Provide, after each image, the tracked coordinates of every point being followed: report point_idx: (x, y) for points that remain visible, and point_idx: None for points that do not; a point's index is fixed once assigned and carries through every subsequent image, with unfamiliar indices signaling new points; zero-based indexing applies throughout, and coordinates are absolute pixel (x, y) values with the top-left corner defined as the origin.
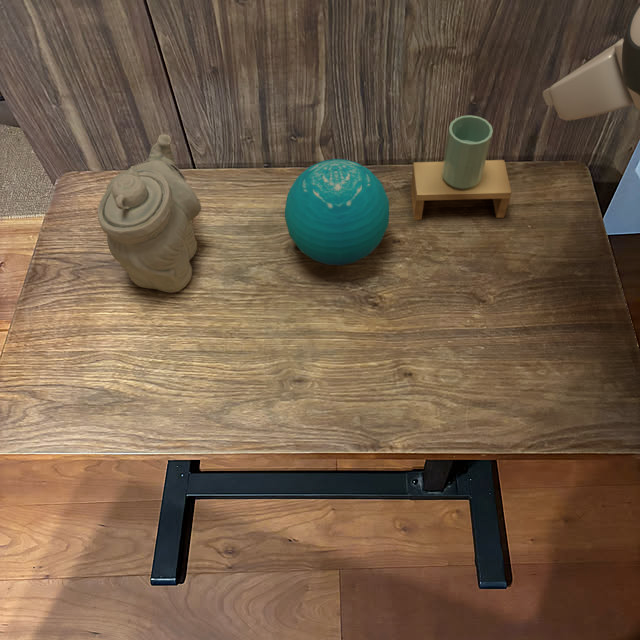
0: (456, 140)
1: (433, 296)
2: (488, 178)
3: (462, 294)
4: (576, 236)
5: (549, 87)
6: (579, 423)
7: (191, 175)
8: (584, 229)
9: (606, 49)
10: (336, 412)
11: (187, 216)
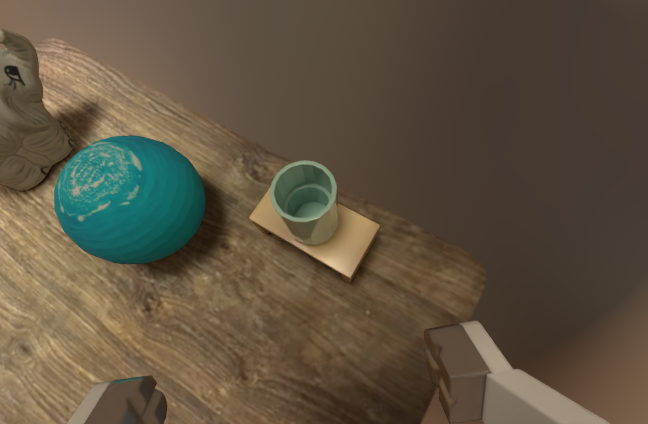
0: (271, 197)
1: (204, 336)
2: (340, 241)
3: (232, 354)
4: (410, 361)
5: (110, 391)
6: None
7: (128, 77)
8: None
9: (476, 327)
10: (20, 409)
11: (13, 129)
